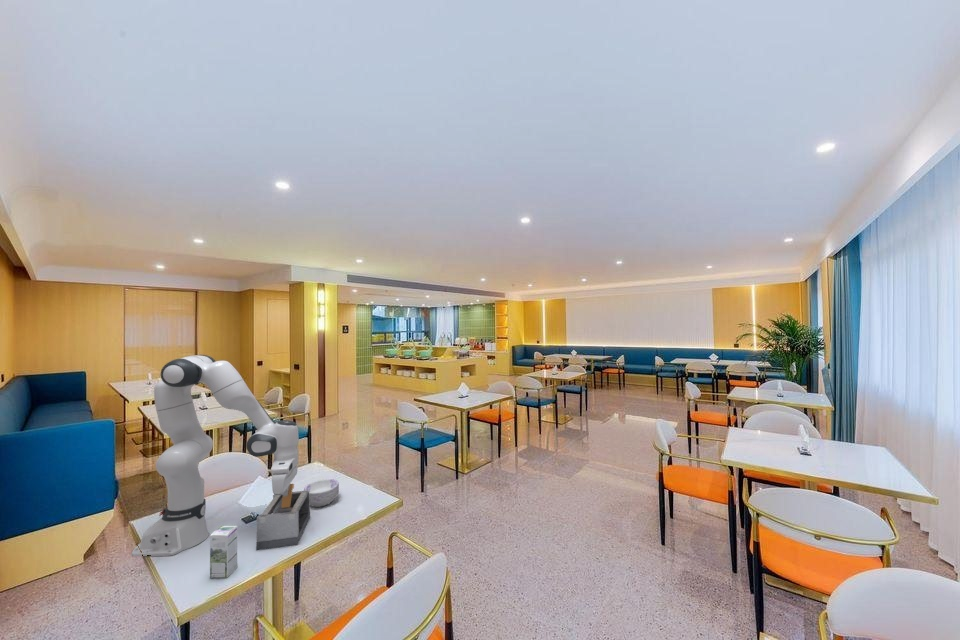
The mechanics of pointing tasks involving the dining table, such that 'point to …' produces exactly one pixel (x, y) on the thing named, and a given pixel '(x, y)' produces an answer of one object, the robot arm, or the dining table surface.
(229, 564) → the syrup box
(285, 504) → the lever
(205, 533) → the robot arm
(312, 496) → the paper bowls
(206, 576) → the dining table surface
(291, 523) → the grey storage bin
